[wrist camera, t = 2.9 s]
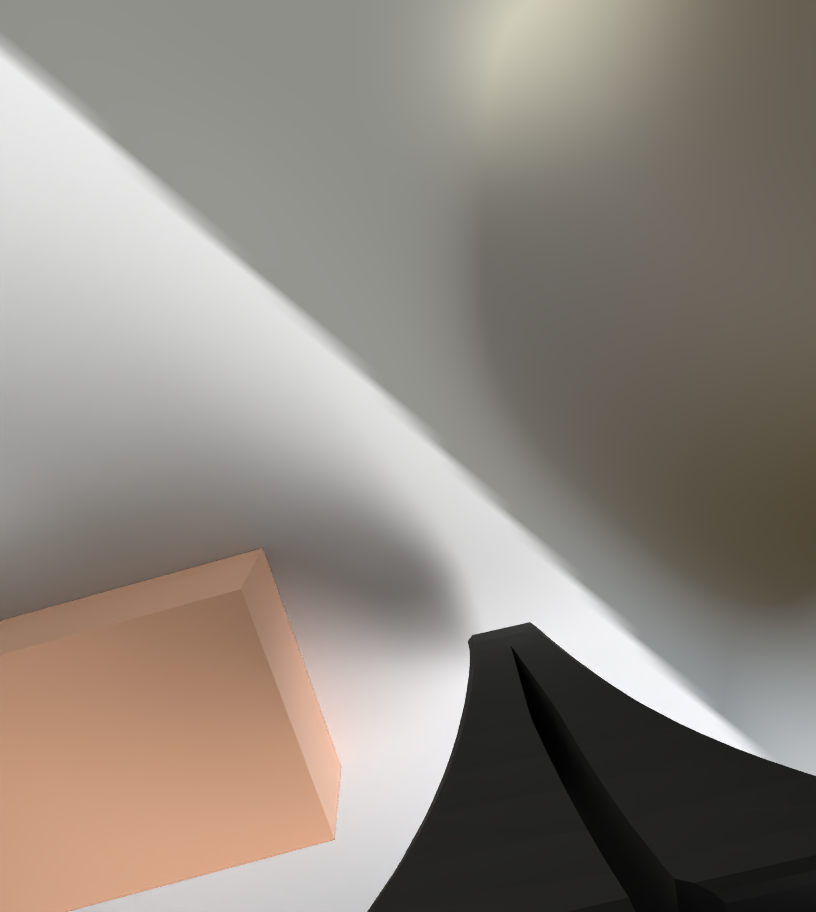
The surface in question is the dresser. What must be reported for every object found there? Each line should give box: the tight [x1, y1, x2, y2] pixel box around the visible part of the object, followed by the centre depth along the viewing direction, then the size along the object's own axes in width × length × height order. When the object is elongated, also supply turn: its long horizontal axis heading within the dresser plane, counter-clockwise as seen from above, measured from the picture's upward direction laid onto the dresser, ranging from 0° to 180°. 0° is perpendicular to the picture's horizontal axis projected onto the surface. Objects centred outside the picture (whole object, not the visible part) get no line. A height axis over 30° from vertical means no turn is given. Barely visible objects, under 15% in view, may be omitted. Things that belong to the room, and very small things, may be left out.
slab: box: [0, 548, 341, 912], centre depth 12 cm, size 8×6×2 cm
